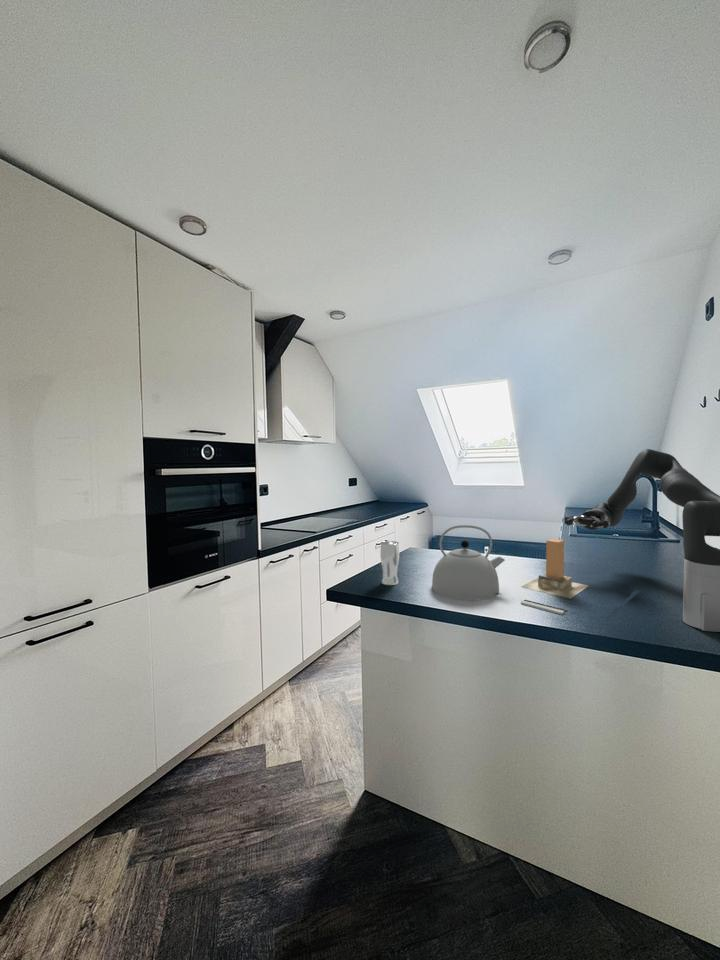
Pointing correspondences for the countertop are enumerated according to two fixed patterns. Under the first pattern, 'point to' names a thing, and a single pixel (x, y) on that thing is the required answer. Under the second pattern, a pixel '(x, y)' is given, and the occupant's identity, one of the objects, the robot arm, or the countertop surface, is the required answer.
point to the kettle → (466, 572)
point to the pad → (544, 607)
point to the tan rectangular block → (555, 558)
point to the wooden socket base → (556, 586)
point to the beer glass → (389, 562)
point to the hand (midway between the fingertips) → (580, 523)
